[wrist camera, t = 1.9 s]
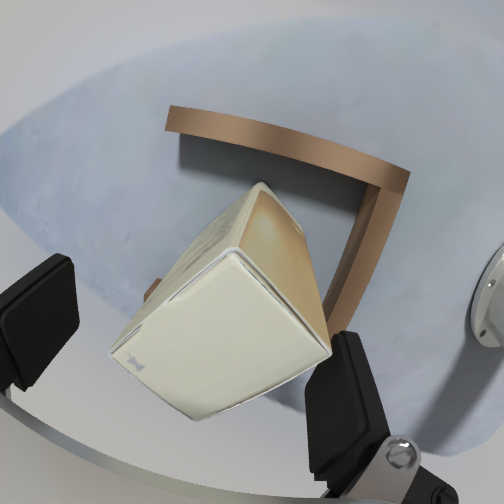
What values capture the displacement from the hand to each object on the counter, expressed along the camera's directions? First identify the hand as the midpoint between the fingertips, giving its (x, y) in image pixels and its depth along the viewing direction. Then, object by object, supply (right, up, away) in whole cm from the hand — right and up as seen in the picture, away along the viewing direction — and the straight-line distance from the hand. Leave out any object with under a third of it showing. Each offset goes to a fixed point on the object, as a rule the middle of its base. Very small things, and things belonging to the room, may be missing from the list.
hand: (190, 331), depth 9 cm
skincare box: (+2, +4, +10) cm, 11 cm away
